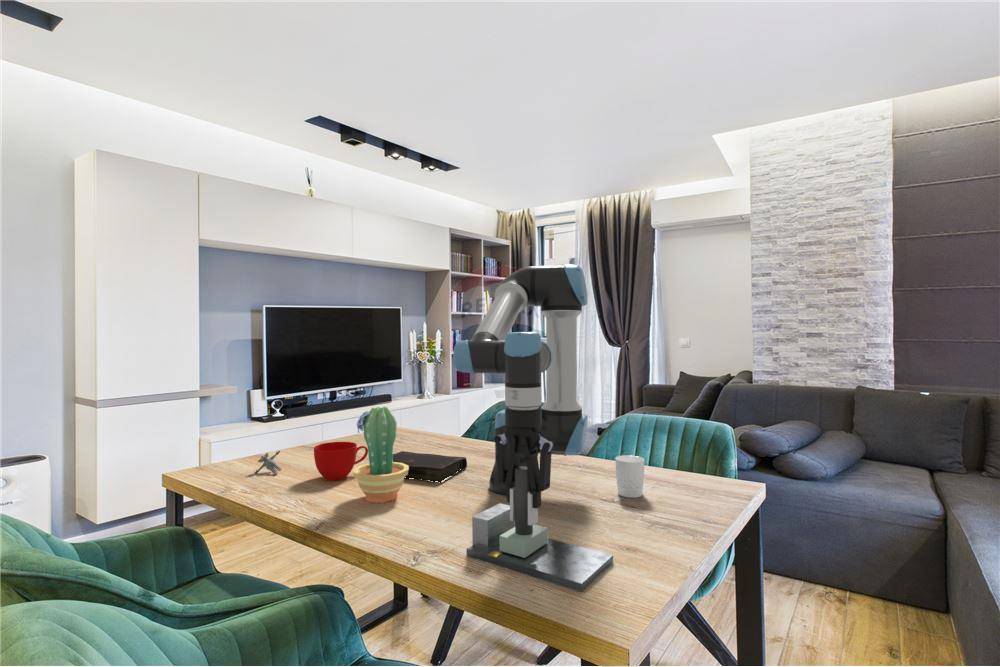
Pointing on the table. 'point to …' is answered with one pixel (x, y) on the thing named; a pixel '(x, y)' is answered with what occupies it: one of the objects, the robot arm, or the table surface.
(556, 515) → the table surface
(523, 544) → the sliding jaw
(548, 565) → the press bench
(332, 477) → the ceramic cup
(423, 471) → the diary
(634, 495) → the white cup
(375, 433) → the potted cactus
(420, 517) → the table surface
